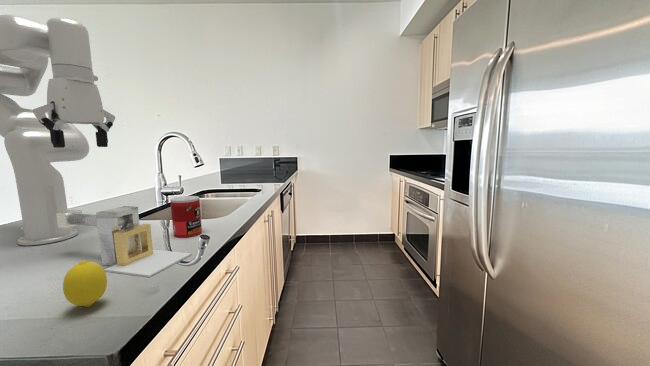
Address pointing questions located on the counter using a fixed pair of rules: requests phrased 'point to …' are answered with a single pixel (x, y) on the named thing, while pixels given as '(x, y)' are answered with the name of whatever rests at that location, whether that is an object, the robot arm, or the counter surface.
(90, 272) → the lemon
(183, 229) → the canned food
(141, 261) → the mat
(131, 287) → the counter surface
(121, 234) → the frame
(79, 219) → the shaft
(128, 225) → the bearing block
